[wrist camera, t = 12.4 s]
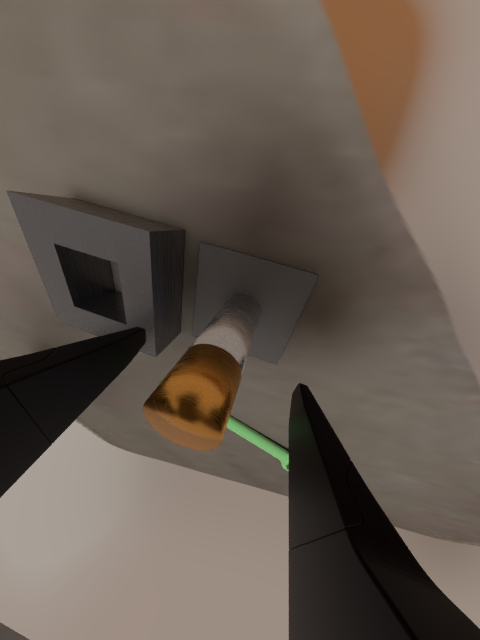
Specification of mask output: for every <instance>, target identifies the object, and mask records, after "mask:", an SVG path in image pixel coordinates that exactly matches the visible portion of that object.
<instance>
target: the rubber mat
mask: <svg viewBox="0 0 480 640" xmlns="http://www.w3.org/2000/svg"><path fill="white" fill-rule="evenodd" d="M317 279H318V274H314V273H311V272H307V271H304V270H300V269H297V268H293V267H290V266H286V265H283V264H279V263H276V262H272V261H269V260H265V259H262V258H258V257H255V256H251V255H247V254H244V253H240V252H237V251H233V250H230V249H226V248H223V247H219V246H216V245H212V244H209V243H205V242H200V250H199V262H198V273H197V284H196V295H195V306H194V317H193V329H192V336H195V337H198V336H199V335H200V334H201V332H202V331H203V330H204V329H205V327H206V326H207V325H208V324H209V322H210V321H211V320H212V319H213V318H214V316H215V315H216V314H217V313H218V311H219V310H220V309H221V308H222V306H223V305H224V304H225V303H226V301H227V300H228V299H229V298H230V297H231V296H233V295H235V294H247V295H250V296H252V297H253V298H254V299H256V301H257V302H258V303H259V305H260V308H261V316H260V320H259V323H258V326H257V329H256V333H255V336H254V339H253V342H252V346H251V349H250V352H249V355H250V356H253V357H256V358H259V359H262V360H265V361H268V362H271V363H274V364H276V365H277V364H278V361H279V359H280V357H281V355H282V353H283V351H284V349H285V347H286V344H287V342H288V340H289V338H290V336H291V334H292V332H293V330H294V327H295V325H296V323H297V321H298V319H299V317H300V315H301V313H302V310H303V308H304V306H305V304H306V302H307V300H308V298H309V296H310V293H311V291H312V289H313V287H314V285H315V283H316V281H317Z"/></svg>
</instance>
